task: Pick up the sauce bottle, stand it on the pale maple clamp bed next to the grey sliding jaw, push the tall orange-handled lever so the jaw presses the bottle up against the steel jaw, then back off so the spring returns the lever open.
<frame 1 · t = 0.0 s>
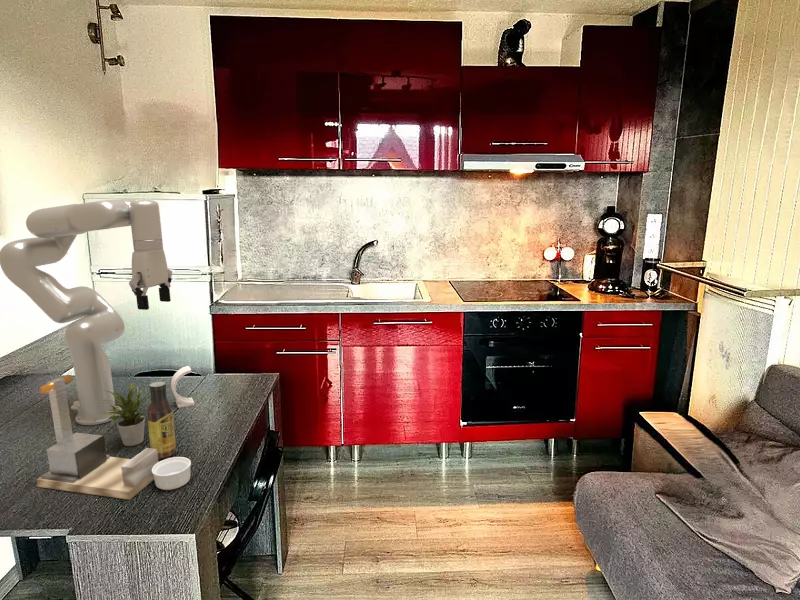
hand: (154, 305, 156), 37 cm above the table, tool pointing down, fingers open, 9 cm apart
headphone stand: (183, 404, 179), on the table
ramekin: (173, 482, 134), on the table
sliding jaw: (73, 425, 134), point 14 cm above the table, slide at 0.0 cm
clamp base: (114, 479, 135), on the table
house plant: (131, 440, 155), on the table
sauce bottle: (164, 454, 147), on the table
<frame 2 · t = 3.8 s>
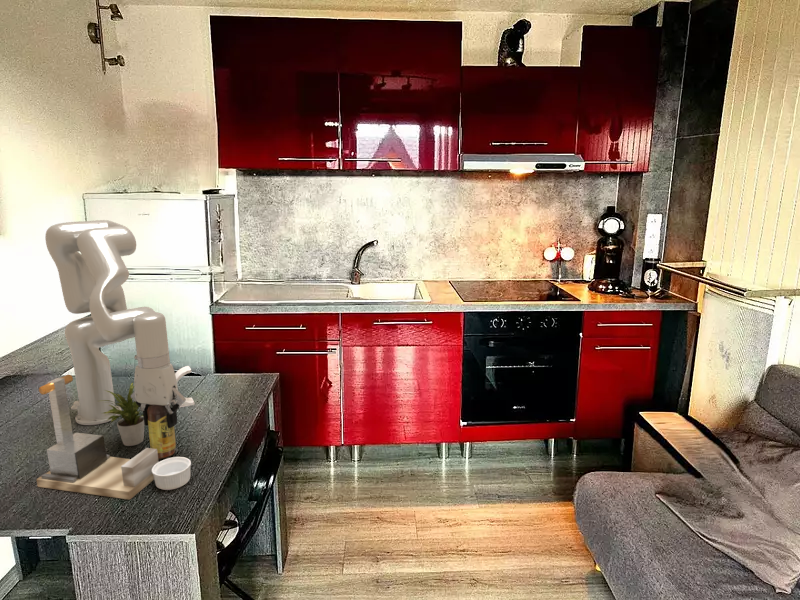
hand: (161, 424, 145), 9 cm above the table, tool pointing down, fingers closed on sauce bottle, 6 cm apart
sauce bottle: (164, 454, 147), on the table, touching gripper
everything else where it was.
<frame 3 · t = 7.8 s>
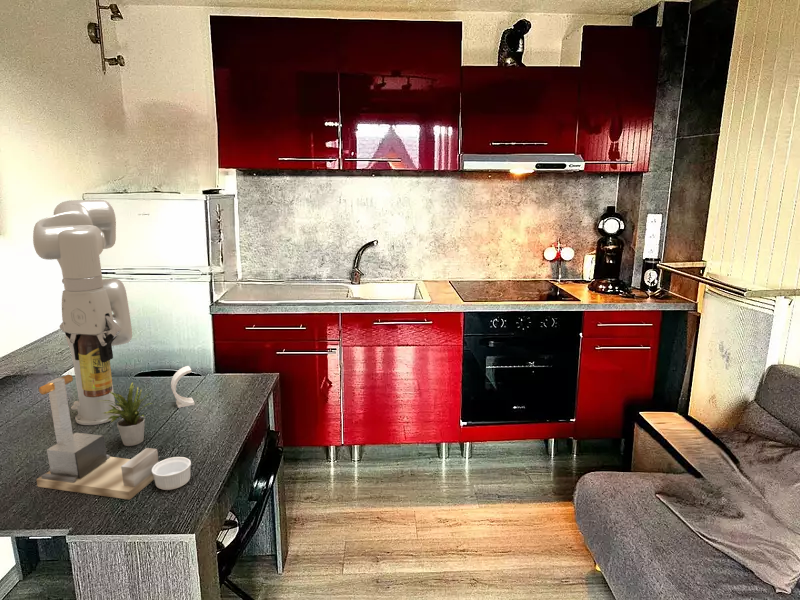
hand: (94, 358, 128), 31 cm above the table, tool pointing down, fingers closed on sauce bottle, 6 cm apart
sauce bottle: (99, 394, 130), point 22 cm above the table, touching gripper
everything else where it was.
when the fingers open (12 cm above the table, at t = 11.9 s): sauce bottle drops 1 cm, resting on clamp base.
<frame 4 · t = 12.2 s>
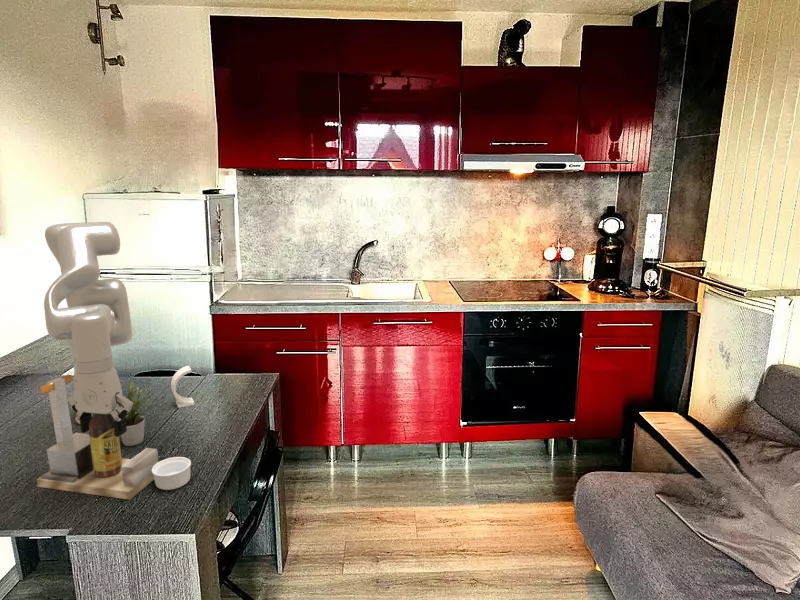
hand: (104, 432, 132), 13 cm above the table, tool pointing down, fingers open, 9 cm apart
sauce bottle: (109, 472, 135), point 2 cm above the table, touching clamp base
everything else where it was.
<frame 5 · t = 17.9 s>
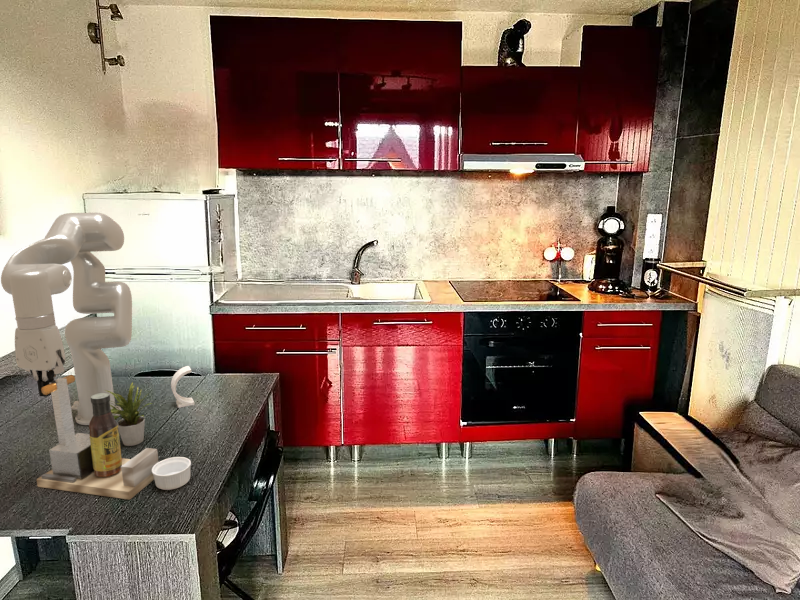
hand: (47, 394, 133), 21 cm above the table, tool pointing down, fingers closed
sliding jaw: (75, 425, 134), point 14 cm above the table, slide at 0.7 cm, touching gripper
everything else where it was.
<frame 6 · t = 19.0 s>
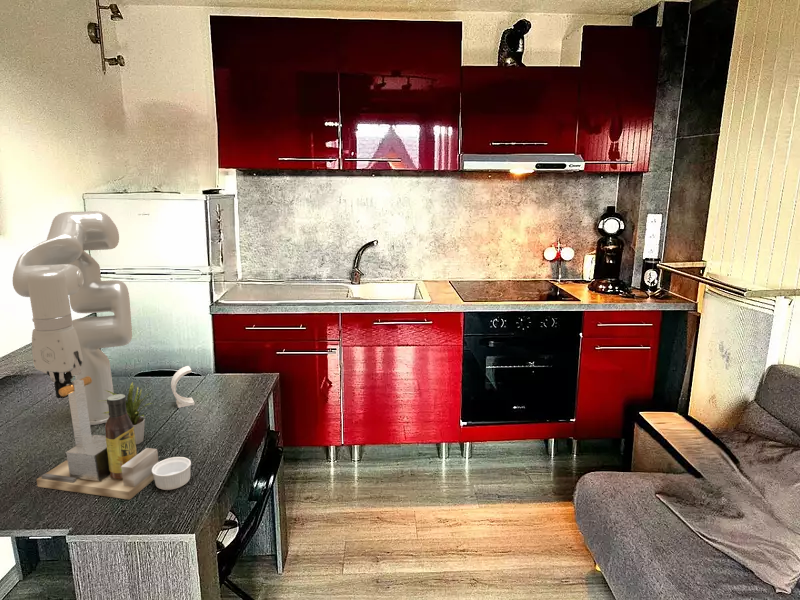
hand: (64, 395, 132), 21 cm above the table, tool pointing down, fingers closed
sliding jaw: (92, 427, 133), point 14 cm above the table, slide at 5.5 cm, touching gripper
sauce bottle: (125, 474, 134), point 2 cm above the table
everything else where it was.
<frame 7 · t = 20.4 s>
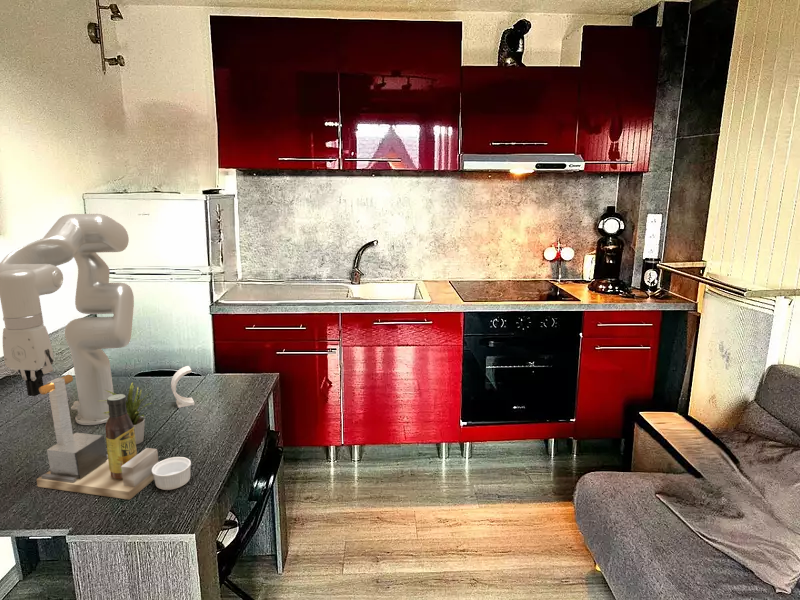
hand: (36, 393, 134), 21 cm above the table, tool pointing down, fingers closed
sliding jaw: (73, 425, 134), point 14 cm above the table, slide at 0.0 cm
sauce bottle: (125, 474, 134), point 2 cm above the table, touching clamp base
everything else where it was.
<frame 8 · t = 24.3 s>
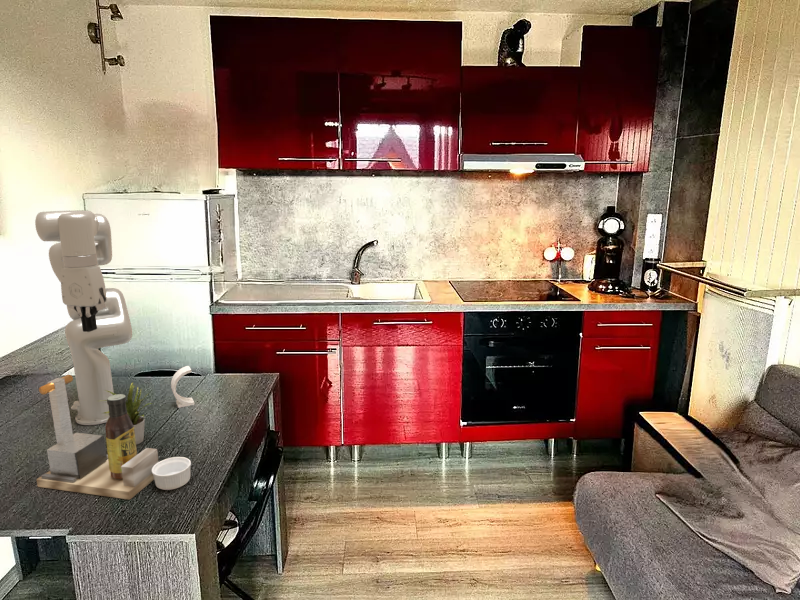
hand: (90, 330, 145), 33 cm above the table, tool pointing down, fingers closed
nothing on the table moved.
at the end: sauce bottle 0.3 cm from the target spot, point 1.8 cm above the table; sauce bottle tilted 0°; sliding jaw slide at 0.0 cm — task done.
